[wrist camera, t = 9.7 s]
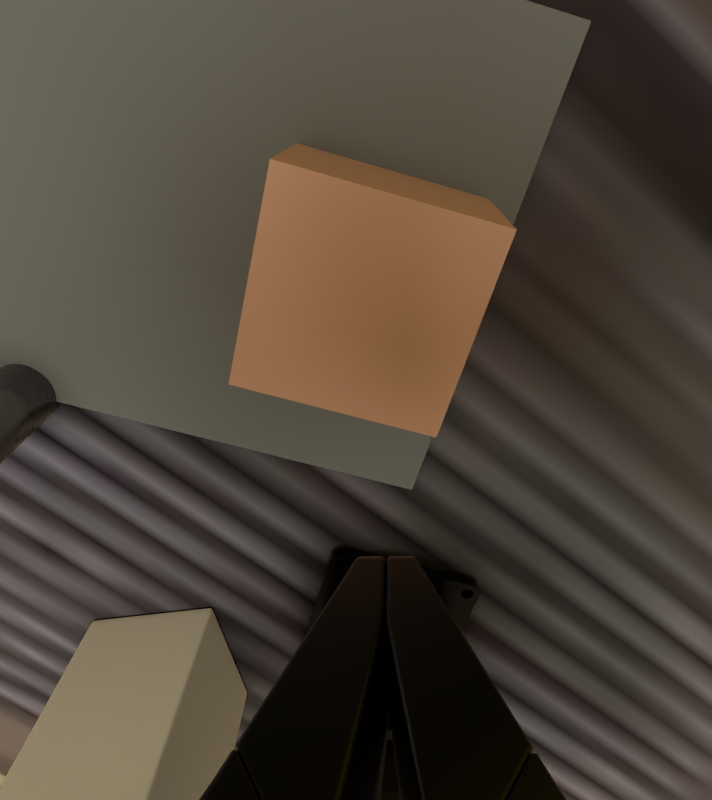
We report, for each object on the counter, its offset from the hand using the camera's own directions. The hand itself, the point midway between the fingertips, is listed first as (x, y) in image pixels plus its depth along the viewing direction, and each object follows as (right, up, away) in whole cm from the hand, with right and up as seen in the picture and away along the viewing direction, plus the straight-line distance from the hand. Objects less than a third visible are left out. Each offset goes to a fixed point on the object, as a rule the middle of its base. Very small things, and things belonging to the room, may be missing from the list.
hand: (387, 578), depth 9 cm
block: (0, +7, +11) cm, 13 cm away
